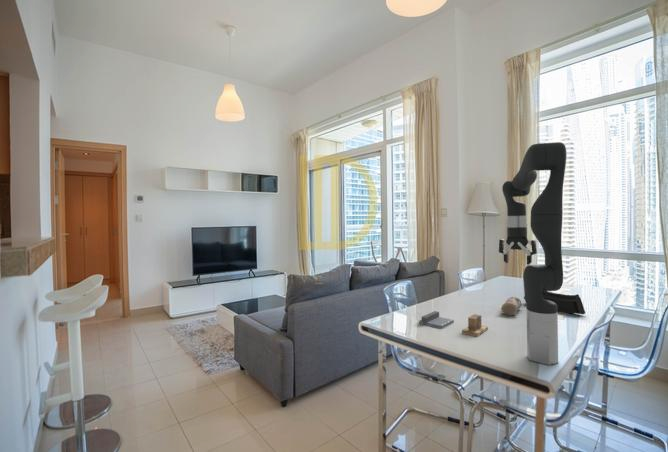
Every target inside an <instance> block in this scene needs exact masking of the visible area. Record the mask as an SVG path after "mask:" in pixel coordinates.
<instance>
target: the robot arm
mask: <svg viewBox="0 0 668 452" xmlns="http://www.w3.org/2000/svg"><path fill="white" fill-rule="evenodd" d="M566 163H567V147H566V145H565V143H563V142H559V141H557V142H556V141H555V142H539V143H538V142H537V143H533V144H532V145H530V146H529V147H528V149H527V150H526V152H525V155H524V157H523V160H522V162H521V165H520V168H519V170H518V172H517V173H516V175H514V177H513V179H512V180H507V181H505V182H503V185H502V186H501V187H502V193H503V197H504V198H505V199H504V200H505V203H506V208H507V209H506V210H507V214H506V215H507V219H506V236H507V238H506V239H498V241H499V242H498V253H501V254H503V262H504V263H505V264H508V263H509V253H510V251H511V250H513V251H515V250H518V251H523V252H525V254H526V265H527V266H525V268H524V270H523V275H522V279H523V280H522V282H523V292H524V294H523V295H524V296H525V299H524V301H525V307H526V310H525V311H526V353H527V358H528V360H529V361H531V362H536V363H539V364H543V365H547V366H552V365H555V364H558V363H559V328H558V327H559V326H558V325H559V323H558V322H559V321H558V320H559V317H558V316H559V315H558V312H559V311H558V308H557V304H556V303H554V302H552V301H549V300H546V299H544V298H543V296H542V291H548V292H556V291H560V289H561V288H562V287H563V283H564V267H563V257H562V256H563V254H562V253H563V251H562V235H563V234H562V233H563V215H564V214H563V205H564V204H563V199H564V198H563V195H564V181H565V172H566V167H567V166H566V165H567V164H566ZM537 171H539V172H541V171H550V174H549V178H548V181H547V184H546V186H545V187H544V189H543V190H542V191H541V193H540V194H539V196H538V197H537V198H536V200H535V201H534V202H533V204H532V206H531V208H530V223H529V224H530V229H531V231H532V233H533V235H534V237H535V239H536V240H535V239H533V240H529V239H528V223H527V221H528V220H527V205H526V203H525V202H522V201H517V200H515V199H514V198H516V197H518V198H519V197H526V196H528V195H529V194H530V193H531V187H532V186H533V184H534V183H535V182H536V180H537V177H538V173H537ZM537 241H538V243H539V245H540V246H541V247H542V250H543V253H544V264H532V262H533V260H532V259H533V257H532V256H533V255H536V254H538V251H537V248H538V247H537ZM506 244H507V247H506V248H505V247H504V246H505V245H506ZM528 244H529V245H530V247H531V250H530V249H529V247H528V246H527V245H528ZM504 248H505V249H504Z"/></svg>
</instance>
